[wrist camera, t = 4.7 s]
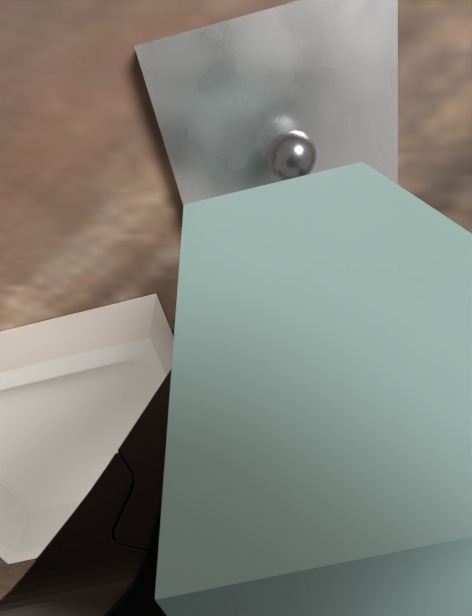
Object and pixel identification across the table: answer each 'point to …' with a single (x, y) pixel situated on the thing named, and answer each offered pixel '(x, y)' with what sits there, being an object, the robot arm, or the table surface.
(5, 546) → the bin
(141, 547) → the robot arm
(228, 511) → the block
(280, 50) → the stud plate
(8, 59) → the table surface
